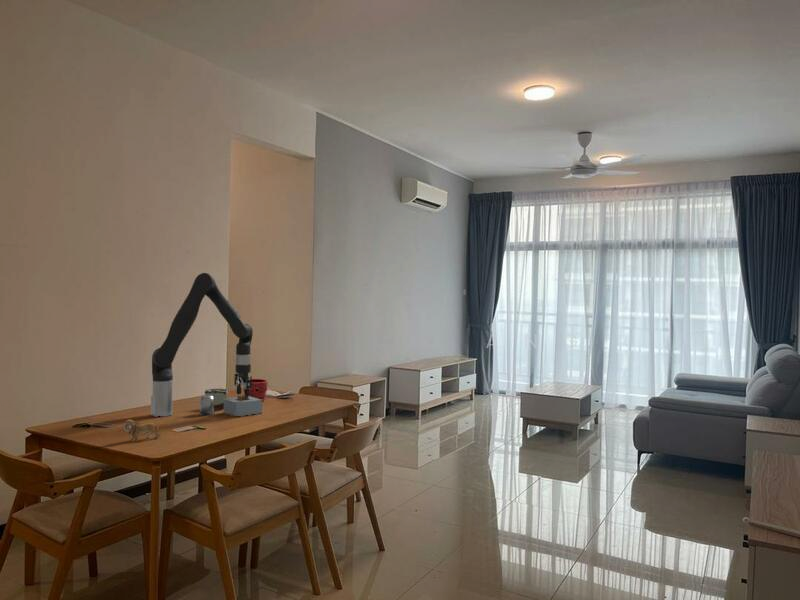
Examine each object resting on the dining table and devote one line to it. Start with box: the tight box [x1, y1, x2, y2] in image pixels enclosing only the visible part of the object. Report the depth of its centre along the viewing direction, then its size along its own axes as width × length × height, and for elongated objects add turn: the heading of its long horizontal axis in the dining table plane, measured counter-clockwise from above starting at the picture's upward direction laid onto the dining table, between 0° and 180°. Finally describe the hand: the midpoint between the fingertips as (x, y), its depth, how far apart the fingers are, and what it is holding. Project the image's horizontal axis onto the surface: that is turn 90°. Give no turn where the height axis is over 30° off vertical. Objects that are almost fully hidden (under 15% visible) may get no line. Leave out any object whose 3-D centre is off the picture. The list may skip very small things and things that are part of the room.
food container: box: [203, 388, 229, 410], centre depth 317 cm, size 12×6×10 cm, turn 84°
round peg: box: [199, 394, 215, 416], centre depth 301 cm, size 7×7×9 cm
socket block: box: [223, 396, 263, 418], centre depth 304 cm, size 14×14×7 cm
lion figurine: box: [123, 419, 161, 442], centre depth 248 cm, size 15×5×9 cm, turn 132°
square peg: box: [236, 394, 249, 401], centre depth 304 cm, size 4×4×9 cm
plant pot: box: [243, 378, 268, 402], centre depth 338 cm, size 13×13×12 cm
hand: (242, 395), depth 304 cm, fingers open, 8 cm apart
